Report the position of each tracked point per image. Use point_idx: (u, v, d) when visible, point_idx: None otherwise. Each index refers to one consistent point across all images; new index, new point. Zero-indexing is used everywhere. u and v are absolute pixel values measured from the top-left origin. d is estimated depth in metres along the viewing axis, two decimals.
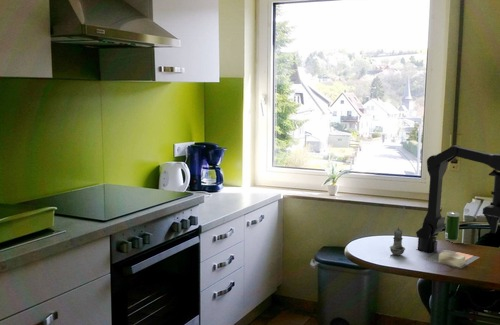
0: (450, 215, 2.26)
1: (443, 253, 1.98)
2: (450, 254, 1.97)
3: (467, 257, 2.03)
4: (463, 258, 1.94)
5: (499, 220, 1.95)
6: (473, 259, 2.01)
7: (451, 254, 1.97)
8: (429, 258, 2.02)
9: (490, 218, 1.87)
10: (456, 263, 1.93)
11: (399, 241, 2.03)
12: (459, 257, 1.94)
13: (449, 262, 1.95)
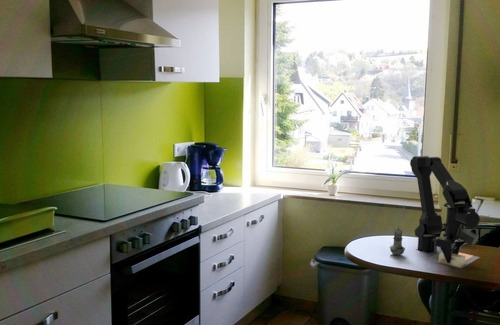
0: None
1: None
2: None
3: (467, 257, 2.03)
4: (463, 258, 1.94)
5: None
6: (473, 259, 2.01)
7: None
8: (429, 258, 2.02)
9: (444, 248, 1.94)
10: (456, 263, 1.93)
11: (399, 241, 2.03)
12: (459, 257, 1.94)
13: None
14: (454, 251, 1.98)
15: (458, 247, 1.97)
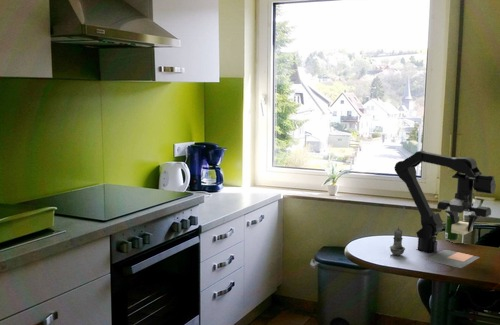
0: None
1: (464, 222, 2.04)
2: (464, 223, 2.02)
3: (467, 257, 2.03)
4: (459, 227, 1.98)
5: None
6: (473, 259, 2.01)
7: (464, 224, 2.01)
8: (429, 258, 2.02)
9: None
10: None
11: (399, 241, 2.03)
12: (457, 225, 2.00)
13: None
14: None
15: None
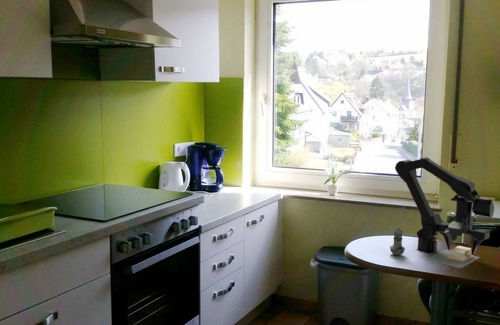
0: (450, 215, 2.26)
1: (463, 247, 2.06)
2: (462, 249, 2.04)
3: None
4: (458, 252, 2.00)
5: None
6: (473, 259, 2.01)
7: (462, 249, 2.03)
8: (429, 258, 2.02)
9: None
10: None
11: (399, 241, 2.03)
12: (455, 250, 2.02)
13: None
14: None
15: None
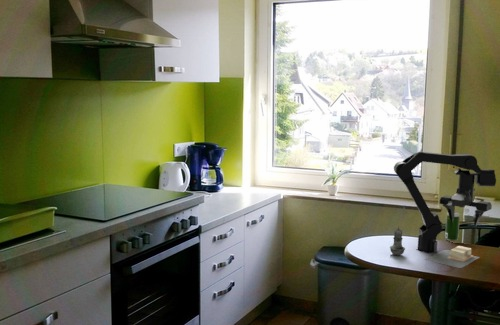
0: None
1: (463, 247, 2.06)
2: (462, 249, 2.04)
3: None
4: (458, 252, 2.00)
5: None
6: (473, 259, 2.01)
7: (462, 249, 2.03)
8: (429, 258, 2.02)
9: None
10: None
11: (399, 241, 2.03)
12: (455, 250, 2.02)
13: None
14: None
15: None
